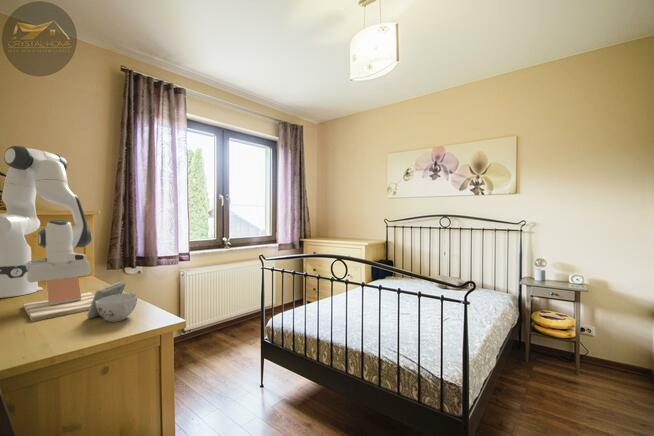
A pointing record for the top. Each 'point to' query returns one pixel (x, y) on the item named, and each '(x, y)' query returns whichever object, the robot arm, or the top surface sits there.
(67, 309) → the board
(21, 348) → the top surface
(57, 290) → the tile
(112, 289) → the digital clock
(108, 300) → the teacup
